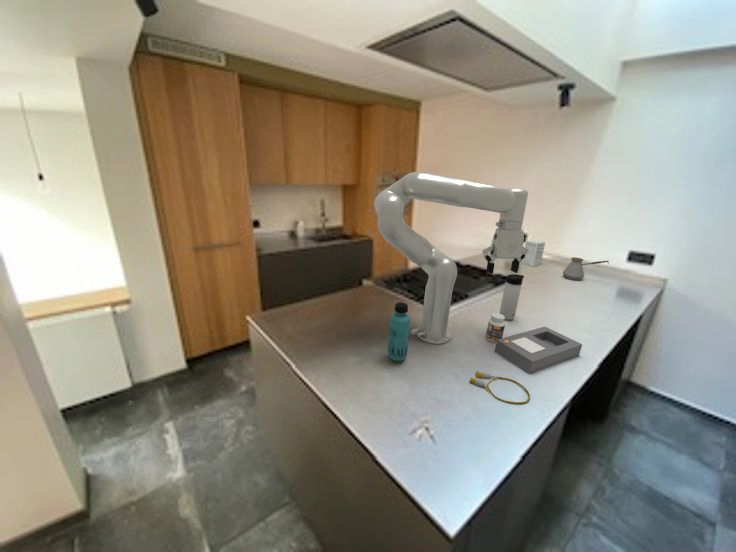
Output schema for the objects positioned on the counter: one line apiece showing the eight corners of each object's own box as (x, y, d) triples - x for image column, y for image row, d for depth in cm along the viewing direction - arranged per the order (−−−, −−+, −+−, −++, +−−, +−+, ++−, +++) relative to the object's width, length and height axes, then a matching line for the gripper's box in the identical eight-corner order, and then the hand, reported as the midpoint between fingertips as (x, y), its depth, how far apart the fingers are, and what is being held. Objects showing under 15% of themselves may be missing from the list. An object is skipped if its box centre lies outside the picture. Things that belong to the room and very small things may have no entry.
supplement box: (540, 265, 217) (546, 242, 212) (533, 266, 213) (538, 243, 207) (528, 261, 225) (533, 239, 220) (520, 263, 221) (525, 240, 215)
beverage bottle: (394, 351, 105) (398, 298, 99) (410, 359, 101) (416, 304, 95) (383, 359, 100) (386, 304, 94) (399, 367, 96) (404, 310, 90)
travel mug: (516, 322, 130) (526, 278, 123) (500, 320, 131) (509, 276, 125) (512, 316, 136) (522, 273, 129) (497, 314, 137) (505, 272, 130)
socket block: (529, 373, 96) (532, 360, 95) (494, 350, 108) (496, 338, 106) (578, 355, 107) (582, 343, 106) (542, 336, 119) (545, 325, 117)
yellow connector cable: (488, 368, 99) (489, 362, 98) (537, 396, 87) (538, 390, 86) (464, 381, 92) (465, 375, 91) (514, 414, 80) (515, 408, 79)
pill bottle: (491, 344, 112) (496, 320, 109) (482, 336, 117) (486, 313, 114) (504, 342, 114) (509, 318, 111) (494, 334, 119) (499, 311, 116)
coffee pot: (559, 278, 191) (565, 254, 186) (564, 274, 199) (569, 252, 194) (600, 287, 177) (608, 262, 172) (603, 283, 185) (611, 259, 180)
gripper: (493, 227, 101) (485, 276, 106) (539, 227, 103) (529, 274, 109) (481, 223, 108) (474, 269, 113) (525, 223, 110) (516, 268, 116)
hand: (501, 272), depth 111 cm, fingers open, 9 cm apart
